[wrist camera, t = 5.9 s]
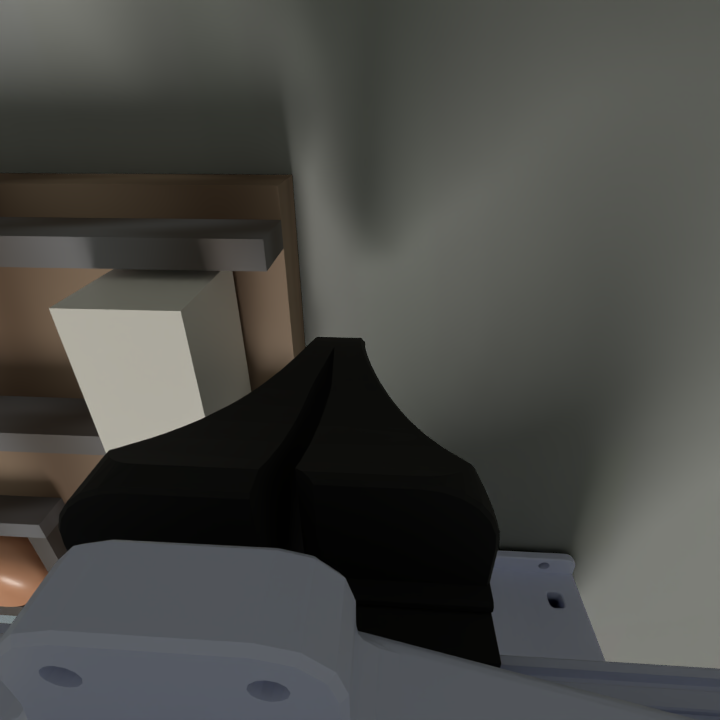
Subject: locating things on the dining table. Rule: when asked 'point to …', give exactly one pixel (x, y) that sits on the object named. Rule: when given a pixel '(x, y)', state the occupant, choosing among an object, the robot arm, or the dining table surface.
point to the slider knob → (154, 349)
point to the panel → (94, 259)
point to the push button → (19, 571)
